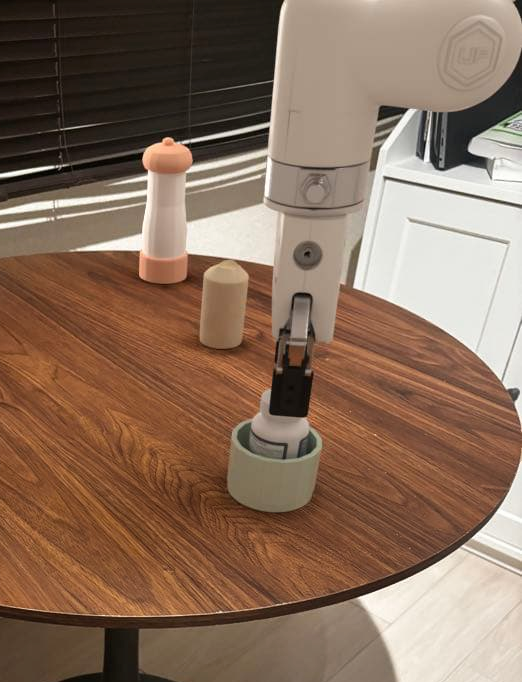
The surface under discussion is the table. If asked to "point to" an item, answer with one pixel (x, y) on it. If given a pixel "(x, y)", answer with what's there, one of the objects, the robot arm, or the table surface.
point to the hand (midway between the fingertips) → (289, 388)
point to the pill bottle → (277, 433)
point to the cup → (271, 474)
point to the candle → (223, 305)
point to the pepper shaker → (165, 214)
